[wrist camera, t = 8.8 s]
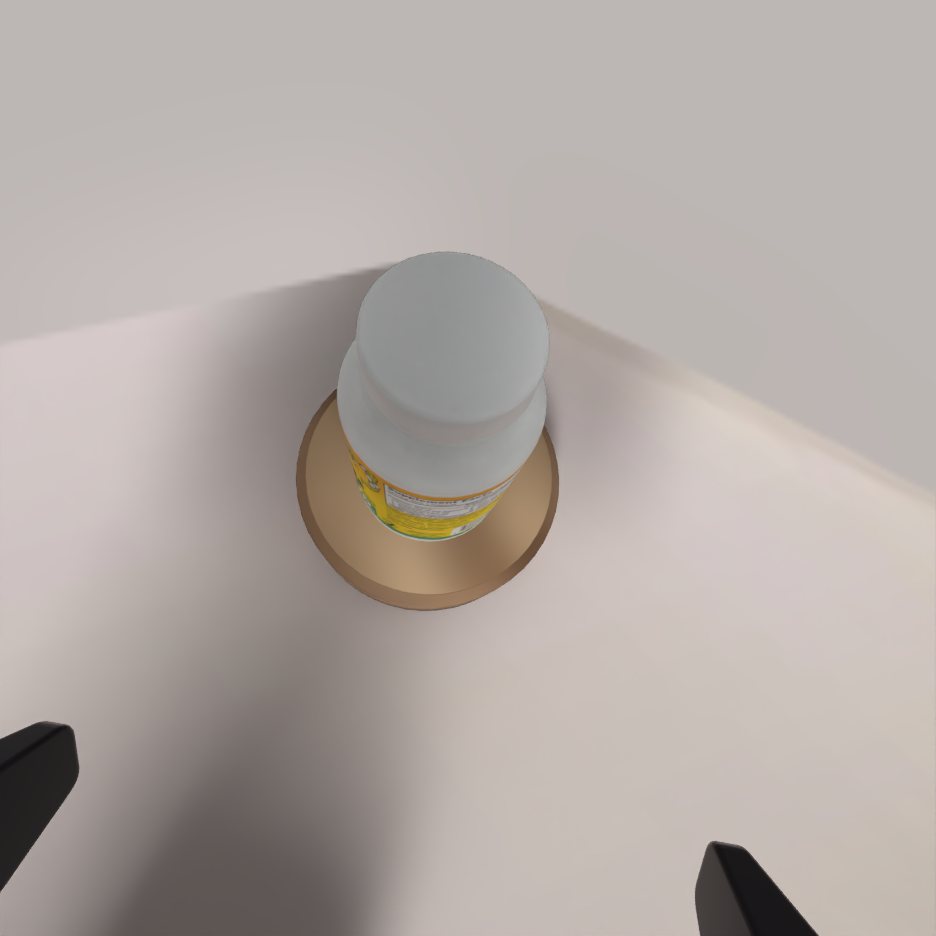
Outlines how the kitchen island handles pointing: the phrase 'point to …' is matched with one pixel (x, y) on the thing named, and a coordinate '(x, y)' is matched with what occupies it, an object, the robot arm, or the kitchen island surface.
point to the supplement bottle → (443, 392)
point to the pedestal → (412, 561)
